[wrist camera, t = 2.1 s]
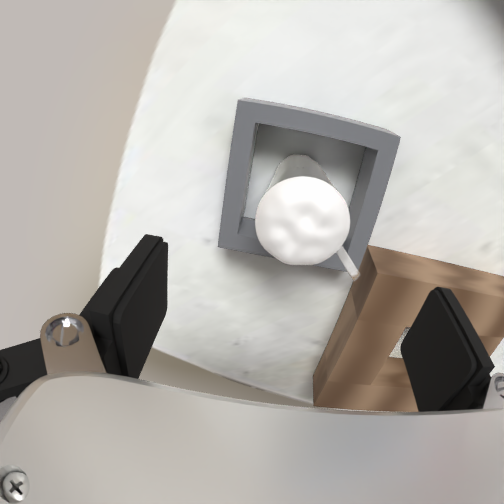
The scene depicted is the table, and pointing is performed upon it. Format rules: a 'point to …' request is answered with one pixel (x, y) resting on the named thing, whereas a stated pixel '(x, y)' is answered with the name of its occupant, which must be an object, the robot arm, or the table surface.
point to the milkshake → (303, 216)
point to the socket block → (396, 327)
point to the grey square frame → (372, 137)
